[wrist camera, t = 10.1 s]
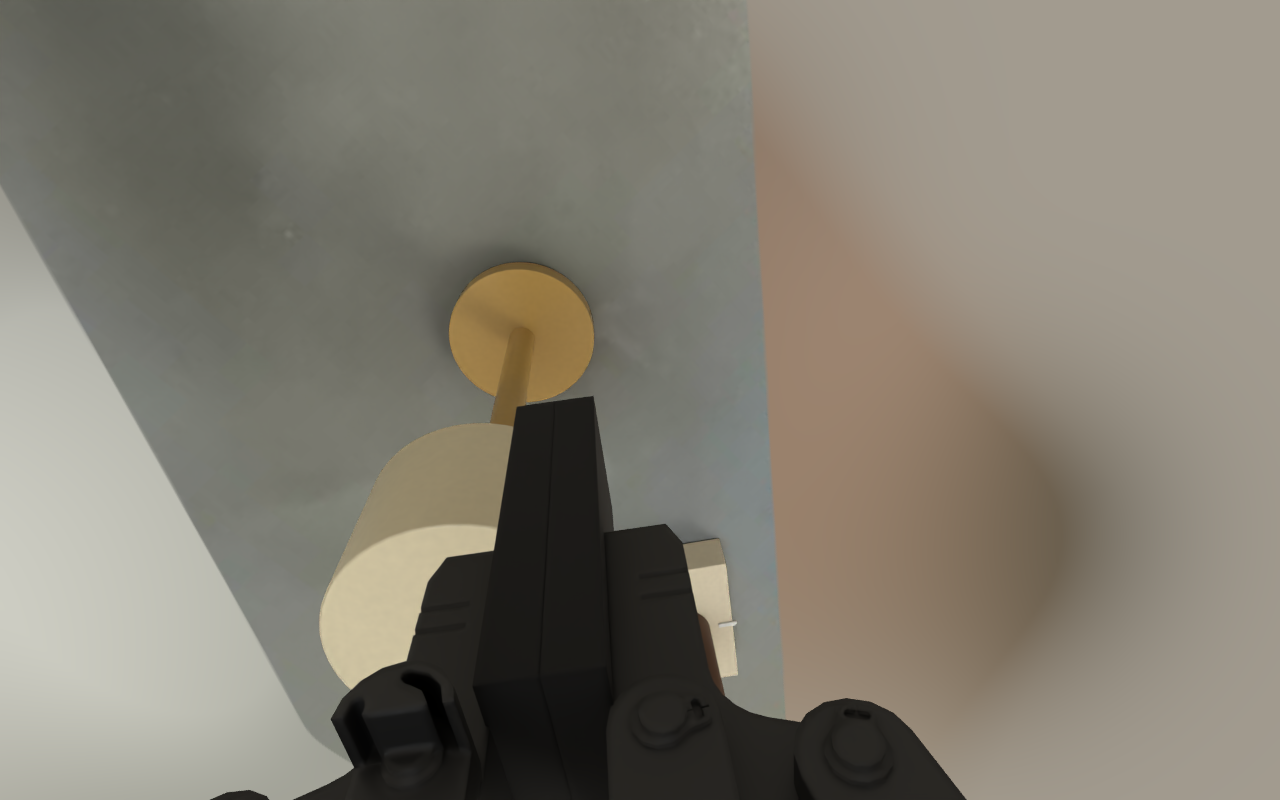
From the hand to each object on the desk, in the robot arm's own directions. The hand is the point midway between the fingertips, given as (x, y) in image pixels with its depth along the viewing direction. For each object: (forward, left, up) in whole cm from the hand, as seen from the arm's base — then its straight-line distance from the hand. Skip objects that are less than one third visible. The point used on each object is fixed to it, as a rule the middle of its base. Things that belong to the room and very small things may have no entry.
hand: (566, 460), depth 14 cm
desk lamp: (+5, +9, -31) cm, 32 cm away
